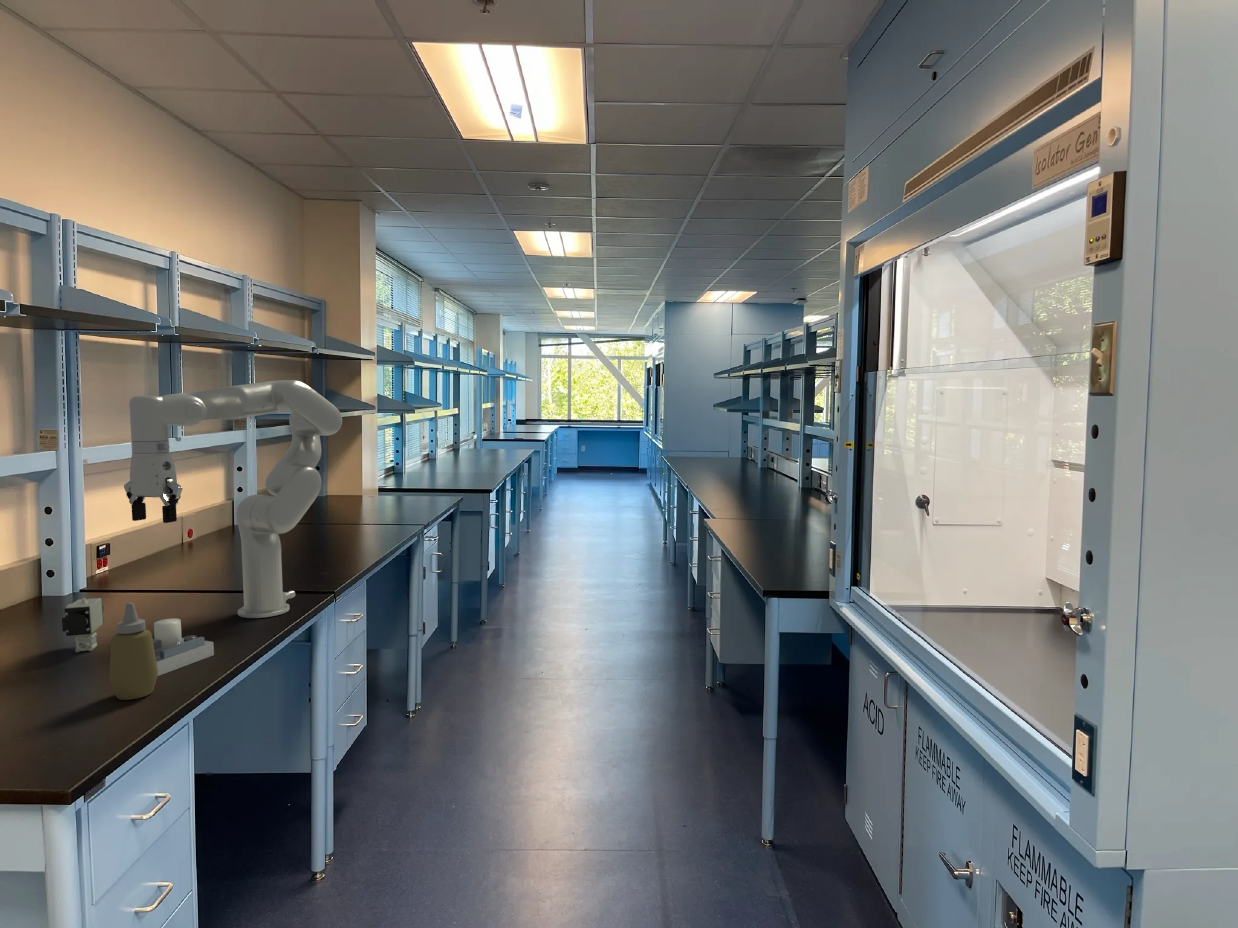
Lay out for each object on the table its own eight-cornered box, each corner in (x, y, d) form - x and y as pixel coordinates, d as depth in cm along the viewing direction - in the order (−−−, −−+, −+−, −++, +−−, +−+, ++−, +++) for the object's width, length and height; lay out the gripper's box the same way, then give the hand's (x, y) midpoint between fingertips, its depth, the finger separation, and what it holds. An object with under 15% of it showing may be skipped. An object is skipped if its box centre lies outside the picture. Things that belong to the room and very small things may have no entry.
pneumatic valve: (106, 640, 183) (103, 591, 182) (89, 656, 172) (86, 603, 170) (79, 643, 181) (76, 592, 180) (60, 659, 170) (57, 605, 169)
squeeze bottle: (167, 686, 153) (163, 597, 152) (144, 702, 145) (139, 609, 144) (126, 687, 153) (121, 598, 152) (100, 703, 145) (94, 609, 143)
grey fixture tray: (180, 650, 176) (179, 630, 175) (213, 654, 172) (212, 634, 172) (122, 670, 163) (121, 649, 162) (157, 676, 159) (156, 654, 159)
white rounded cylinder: (170, 644, 170) (169, 617, 170) (187, 646, 169) (186, 619, 168) (143, 653, 164) (141, 625, 164) (160, 656, 163) (158, 628, 162)
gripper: (192, 448, 181) (195, 520, 183) (138, 447, 187) (142, 517, 189) (163, 450, 174) (167, 525, 176) (108, 448, 180) (112, 521, 181)
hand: (154, 521), depth 182 cm, fingers open, 9 cm apart
